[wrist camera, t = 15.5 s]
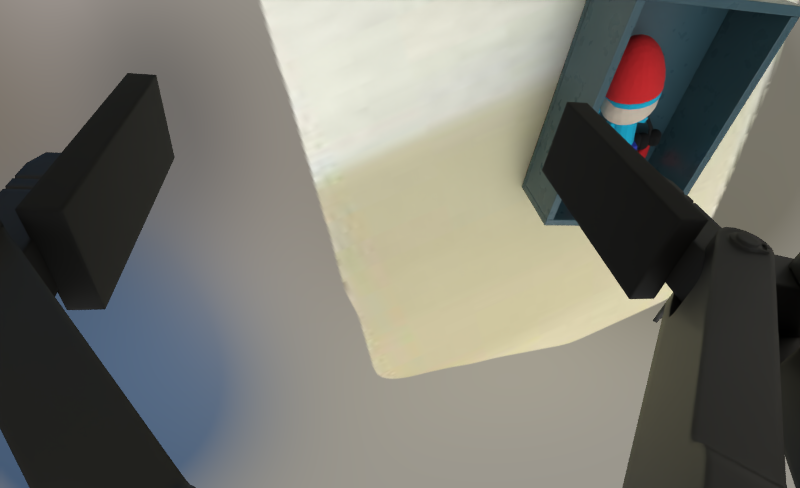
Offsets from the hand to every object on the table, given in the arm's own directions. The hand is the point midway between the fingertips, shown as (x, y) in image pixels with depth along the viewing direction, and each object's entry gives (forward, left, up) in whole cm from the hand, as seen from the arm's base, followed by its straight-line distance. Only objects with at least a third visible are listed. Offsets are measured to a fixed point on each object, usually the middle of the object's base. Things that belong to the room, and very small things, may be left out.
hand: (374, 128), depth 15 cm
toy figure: (+8, +26, -24) cm, 36 cm away
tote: (+8, +26, -25) cm, 37 cm away
